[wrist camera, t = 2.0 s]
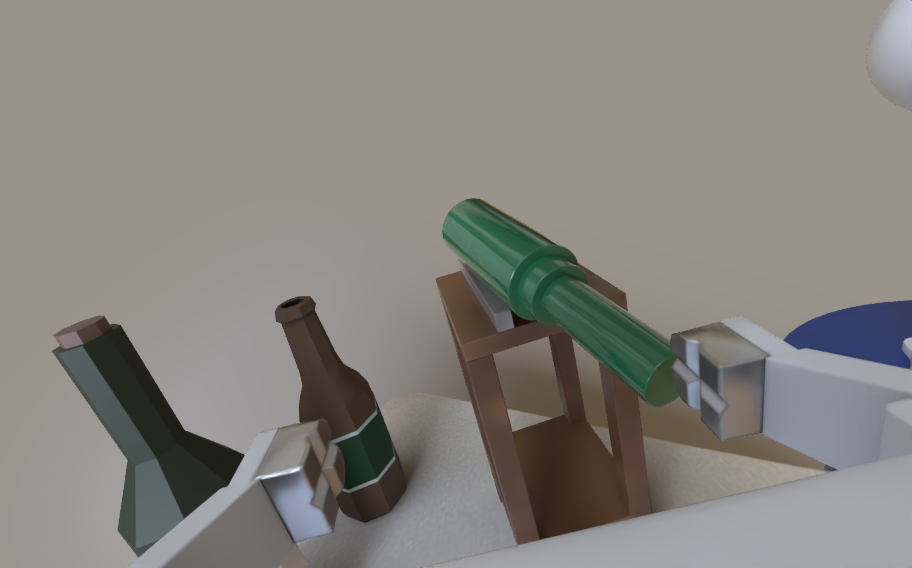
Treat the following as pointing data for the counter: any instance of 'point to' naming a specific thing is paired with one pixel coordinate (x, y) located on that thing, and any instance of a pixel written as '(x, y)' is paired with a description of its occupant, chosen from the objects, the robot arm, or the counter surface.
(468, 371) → the bottle rack
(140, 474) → the wine bottle
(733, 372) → the robot arm
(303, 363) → the beer bottle
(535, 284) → the green bottle
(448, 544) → the counter surface
